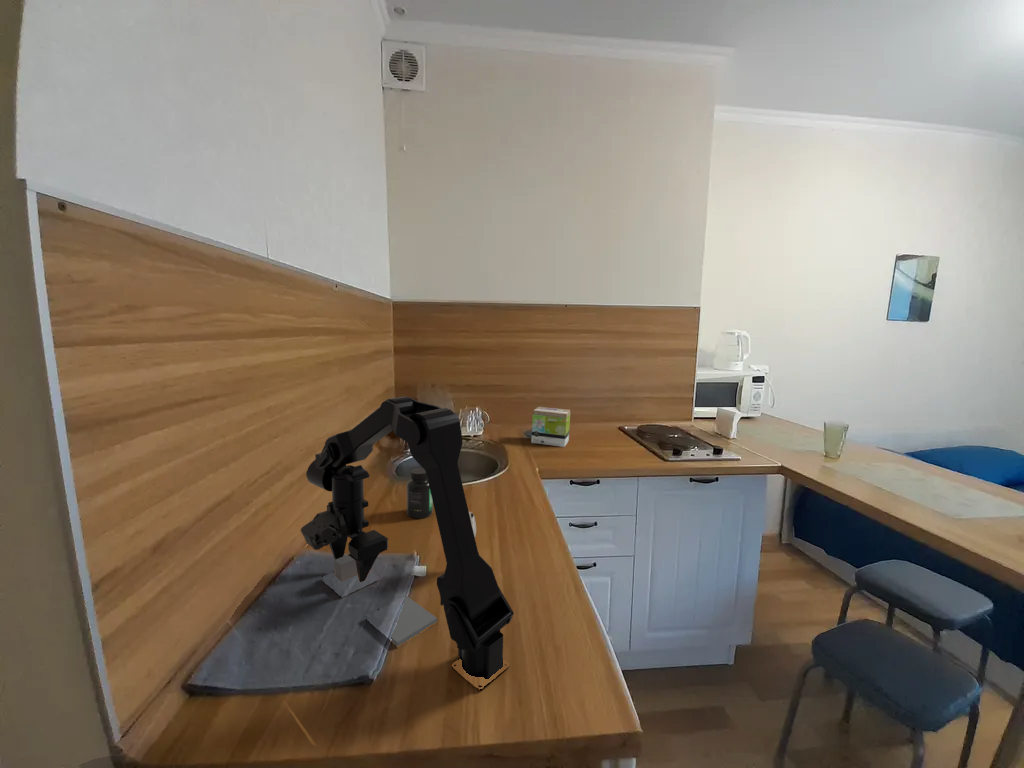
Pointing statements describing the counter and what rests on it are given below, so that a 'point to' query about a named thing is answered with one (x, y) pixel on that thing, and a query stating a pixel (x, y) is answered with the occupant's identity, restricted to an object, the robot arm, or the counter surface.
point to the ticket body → (411, 621)
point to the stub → (345, 568)
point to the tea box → (550, 426)
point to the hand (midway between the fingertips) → (350, 571)
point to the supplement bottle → (419, 495)
